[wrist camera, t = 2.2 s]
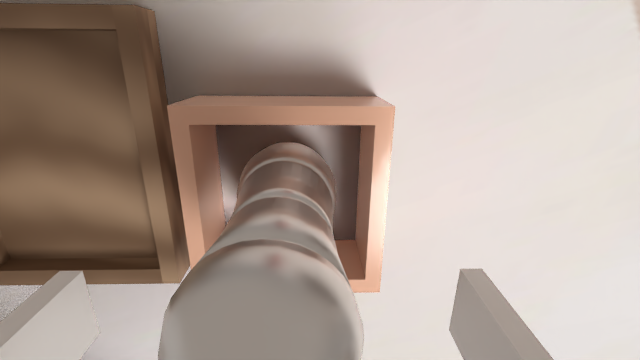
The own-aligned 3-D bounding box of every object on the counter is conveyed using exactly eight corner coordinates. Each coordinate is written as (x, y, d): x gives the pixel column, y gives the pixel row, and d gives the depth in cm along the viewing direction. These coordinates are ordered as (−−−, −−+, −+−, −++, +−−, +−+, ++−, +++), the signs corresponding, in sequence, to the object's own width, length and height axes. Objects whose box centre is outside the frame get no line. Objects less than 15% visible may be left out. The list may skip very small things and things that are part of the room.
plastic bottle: (334, 133, 23) (438, 453, 4) (333, 220, 26) (401, 672, 7) (241, 135, 23) (-59, 473, 4) (249, 222, 25) (78, 690, 7)
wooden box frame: (367, 250, 27) (379, 292, 22) (215, 252, 26) (194, 294, 21) (377, 96, 22) (395, 106, 18) (197, 95, 22) (166, 105, 17)
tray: (191, 263, 26) (179, 283, 24) (10, 264, 26) (-20, 285, 24) (154, 11, 20) (133, 5, 18) (-84, 8, 20) (-137, 1, 18)
